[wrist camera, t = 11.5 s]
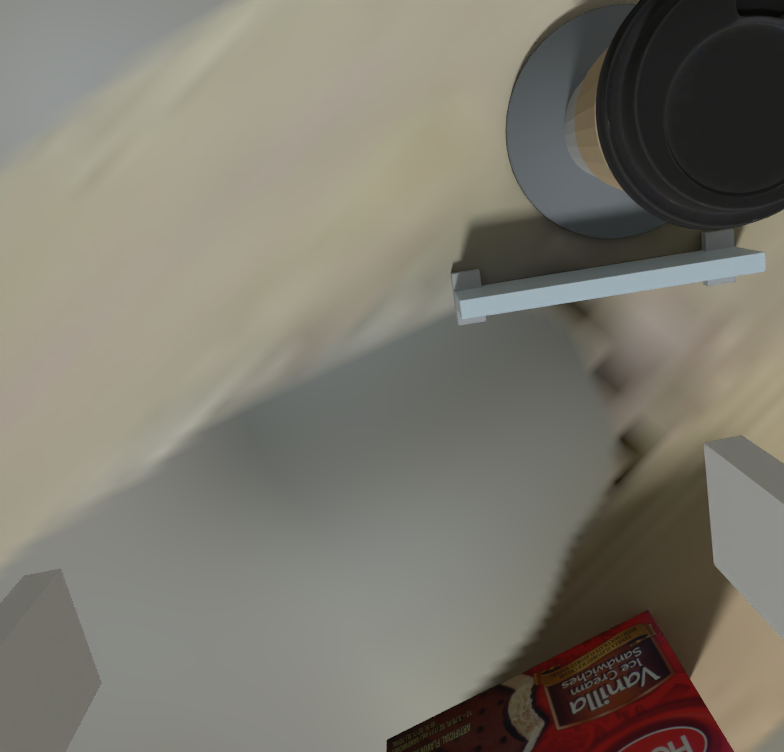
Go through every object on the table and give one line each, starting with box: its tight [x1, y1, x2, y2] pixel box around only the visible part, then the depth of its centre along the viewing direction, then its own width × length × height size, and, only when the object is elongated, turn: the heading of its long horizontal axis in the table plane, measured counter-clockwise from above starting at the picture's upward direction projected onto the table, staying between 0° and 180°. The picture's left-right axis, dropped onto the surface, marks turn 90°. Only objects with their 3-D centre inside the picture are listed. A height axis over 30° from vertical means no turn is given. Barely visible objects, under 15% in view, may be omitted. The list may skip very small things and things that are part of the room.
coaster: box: [506, 4, 667, 238], centre depth 39 cm, size 12×12×1 cm
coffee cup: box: [564, 0, 784, 230], centre depth 32 cm, size 9×9×15 cm
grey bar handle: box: [451, 228, 765, 325], centre depth 40 cm, size 16×3×4 cm, turn 99°
